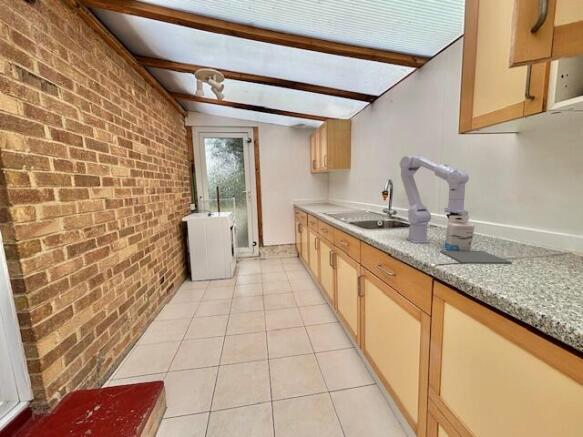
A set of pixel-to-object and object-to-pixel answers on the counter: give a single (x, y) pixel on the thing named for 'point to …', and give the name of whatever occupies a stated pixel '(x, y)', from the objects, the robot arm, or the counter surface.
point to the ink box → (459, 234)
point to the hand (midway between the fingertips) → (454, 230)
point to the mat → (475, 257)
